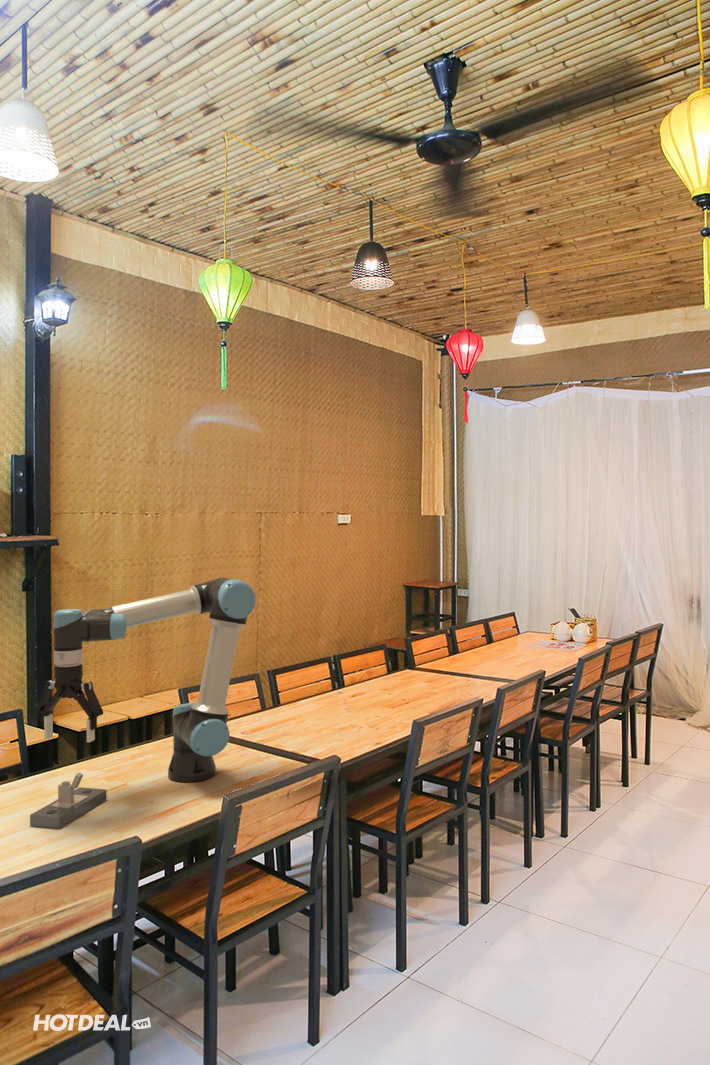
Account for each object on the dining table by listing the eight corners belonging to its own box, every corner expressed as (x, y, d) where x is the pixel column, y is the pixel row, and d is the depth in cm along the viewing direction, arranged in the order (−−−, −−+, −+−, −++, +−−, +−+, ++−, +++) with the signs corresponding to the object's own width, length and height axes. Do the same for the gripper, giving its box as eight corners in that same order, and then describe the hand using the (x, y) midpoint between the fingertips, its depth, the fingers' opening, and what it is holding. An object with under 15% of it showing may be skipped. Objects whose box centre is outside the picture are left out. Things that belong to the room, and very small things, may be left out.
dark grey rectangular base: (106, 799, 218) (106, 788, 218) (59, 828, 197) (59, 816, 197) (79, 797, 221) (79, 786, 221) (30, 825, 199) (30, 814, 199)
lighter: (57, 800, 209) (57, 772, 209) (61, 798, 211) (61, 770, 211) (80, 802, 207) (79, 774, 207) (83, 800, 209) (83, 772, 209)
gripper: (21, 665, 208) (22, 740, 208) (99, 668, 202) (100, 746, 202) (39, 660, 215) (40, 733, 216) (115, 663, 209) (116, 738, 209)
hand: (69, 739), depth 209 cm, fingers open, 13 cm apart
